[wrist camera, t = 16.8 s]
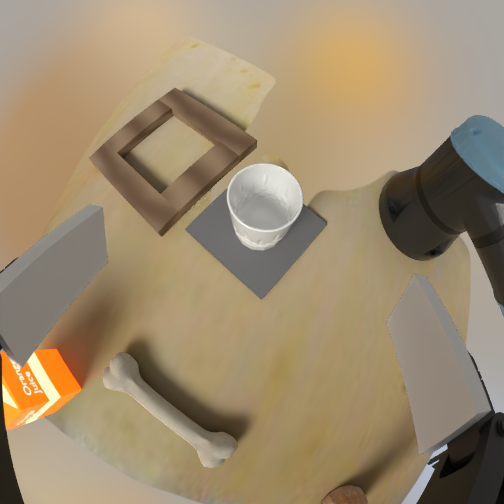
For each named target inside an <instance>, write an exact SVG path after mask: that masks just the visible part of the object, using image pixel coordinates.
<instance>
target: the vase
mask: <svg viewBox="0 0 504 504" xmlns="http://www.w3.org/2000/svg"><path fill="white" fill-rule="evenodd" d="M321 504H368V501H367V498H366V496H365V494H364V493H363V491H362V489H361V488H360V487H357V486H353V485H347V486H343V487H339V488H337V489H335V490H334V491H332V492H330V493H329V494H328V495H327V496H326V497H325V498H324V499H323V500H322V501H321Z"/></svg>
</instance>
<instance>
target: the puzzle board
mask: <svg viewBox="0 0 504 504" xmlns="http://www.w3.org/2000/svg"><path fill="white" fill-rule="evenodd" d="M173 115H174V116H175V117H177V118H178V119H180V120H181V121H182V122H184V123H185V124H187V125H188V126H190V127H191V128H192V129H194V130H195V131H197V132H198V133H199V134H201V135H202V136H204V137H205V138H206V139H208V140H209V141H211V142H212V143H213V144H215V146H214V147H213V148H211V149H210V150H209V151H208V152H207V153H206V154H204V155H203V156H202V157H201V158H200V159H199V160H197V161H196V162H195V163H194V164H193V165H192V166H190V167H189V168H188V169H187V170H186V171H185V172H184V173H183V174H182V175H180V176H179V177H178V178H177V179H176V180H175V181H174V182H173V183H172V184H171V185H170V186H169V187H167V188H166V189H165V190H164V191H163V192H162V193H161V194H160V193H159V192H158V191H156V190H155V189H154V188H153V187H152V186H151V185H150V184H149V183H148V182H147V181H146V180H145V179H144V178H143V177H142V176H141V175H140V174H139V173H137V172H136V171H135V170H134V169H133V168H132V167H131V166H130V165H129V164H128V163H127V162H126V161H125V160H124V159H123V157H124V156H125V155H126V154H127V153H129V152H130V151H131V150H132V149H133V148H134V147H135V146H136V145H138V144H139V143H140V142H141V141H142V140H143V139H145V138H146V137H147V136H148V135H149V134H151V133H152V132H153V131H154V130H156V129H157V128H158V127H159V126H161V125H162V124H163V123H164V122H166V121H167V120H168V119H169V118H171V117H172V116H173ZM255 148H257V140H256V139H254V138H253V137H252V136H250V135H249V134H247V133H246V132H245V131H243V130H242V129H240V128H239V127H237V126H236V125H234V124H233V123H231V122H230V121H228V120H227V119H225V118H224V117H222V116H221V115H219V114H217V113H216V112H214V111H213V110H211V109H210V108H208V107H206V106H205V105H203V104H202V103H200V102H198V101H197V100H195V99H193V98H192V97H190V96H188V95H187V94H185V93H183V92H182V91H180V90H178V89H176V88H174V89H173V90H171V91H170V92H168V93H167V94H165V95H164V96H163V97H161V98H160V99H158V100H157V101H156V102H154V103H153V104H152V105H150V106H149V107H148V108H146V109H145V110H144V111H142V112H141V113H140V114H138V115H137V116H136V117H135V118H133V119H132V120H131V121H130V122H129V123H127V124H126V125H125V126H124V127H123V128H121V129H120V130H119V131H118V132H117V133H116V134H114V135H113V136H112V137H111V138H110V139H109V140H108V141H106V142H105V143H104V144H103V145H102V146H101V147H100V148H99V149H98V150H97V151H96V152H95V153H94V154H93V155H92V156H91V157H89V159H90V160H91V161H92V163H93V164H94V165H95V166H96V167H97V168H98V170H99V171H100V172H101V173H102V174H103V175H104V176H105V177H106V178H107V180H108V181H109V182H110V183H111V184H112V185H113V186H114V187H115V188H116V189H117V190H118V191H119V193H120V194H121V195H122V196H123V197H124V198H125V199H126V200H127V201H128V202H129V203H130V204H131V205H132V206H133V207H134V209H135V210H136V211H137V212H138V213H139V214H140V215H141V216H142V217H143V218H144V219H145V220H146V221H147V222H148V223H149V224H150V225H151V226H152V227H153V228H154V229H155V230H156V231H157V232H158V233H159V234H160V235H161V236H163V235H164V234H165V233H166V232H167V231H168V230H169V229H170V228H171V227H172V226H173V225H174V224H175V223H176V222H177V221H178V220H179V219H180V218H181V217H182V216H183V215H184V214H185V213H186V212H187V211H188V210H189V209H190V208H191V207H192V206H193V205H194V204H195V203H196V202H197V201H198V200H199V199H200V198H201V197H202V196H203V195H204V194H205V193H207V192H208V191H209V190H210V189H211V188H212V187H213V186H214V185H215V184H216V183H217V182H218V181H219V180H221V178H223V177H224V176H225V175H226V174H227V173H228V172H229V171H230V170H232V169H233V168H234V167H235V166H236V165H237V164H238V163H239V162H241V161H242V160H243V159H244V158H245V157H246V156H247V155H249V154H250V153H251V152H252V151H253V150H254V149H255Z"/></svg>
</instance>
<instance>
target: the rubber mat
mask: <svg viewBox="0 0 504 504" xmlns="http://www.w3.org/2000/svg"><path fill="white" fill-rule="evenodd" d="M227 190H228V188H227V189H226V190H225V191H224V192H223V193H222V194H221V195H220V196H219V197H217V198H216V199H215V200H214V201H213V202H212V203H211V204H210V205H209V206H208V207H207V208H206V209H205V210H204V211H203V212H202V213H201V214H200V215H199V216H198V217H197V218H196V219H195V220H194V221H193V222H192V223H191V224H190V225H189V226H188V227H187V228H186V231H187V232H188V233H189V234H190V235H191V236H193V237H194V238H195V239H196V240H197V241H198V242H199V243H200V244H201V245H202V246H203V247H204V248H205V249H206V250H208V251H209V252H210V253H211V254H212V255H213V256H214V257H215V258H216V259H217V260H218V261H219V262H221V263H222V264H223V265H224V266H225V267H226V268H227V269H228V270H229V271H230V272H231V273H233V274H234V275H235V276H236V277H237V278H238V279H239V280H240V281H241V282H243V283H244V284H245V285H246V286H247V287H248V288H249V289H250V290H251V291H253V292H254V293H255V294H256V295H257V296H258V297H259V298H260V299H262V298H263V297H264V296H265V295H266V294H267V293H268V292H269V290H270V289H271V288H272V287H273V286H274V285H275V284H276V283H277V281H278V280H279V279H280V278H281V277H282V276H283V275H284V274H285V272H286V271H287V270H288V269H289V268H290V267H291V266H292V264H293V263H294V262H295V261H296V260H297V259H298V257H299V256H300V255H301V254H302V253H303V252H304V250H305V249H306V248H307V247H308V246H309V245H310V243H311V242H312V241H313V240H314V239H315V238H316V236H317V235H318V234H319V233H320V232H321V230H322V229H323V228H324V227H325V226H326V223H325V222H324V221H323V220H322V219H321V218H319V217H318V216H317V215H316V214H315V213H314V212H312V211H311V210H310V209H309V208H308V207H306V206H305V205H304V204H303V206H302V210H301V212H300V214H299V216H298V217H297V219H296V220H295V222H294V223H293V225H292V226H291V227H290V229H289V230H288V232H287V233H286V234H285V236H284V237H283V238H282V239H281V240H280V241H279V242H278V243H277V244H276V245H275V246H274V247H272V248H269V249H267V250H264V251H261V250H252V249H250V248H248V247H247V246H245V245H243V244H242V243H241V242H240V240H239V239H238V237H237V236H236V233H235V230H234V227H233V224H232V220H231V217H230V212H229V207H228V203H227Z"/></svg>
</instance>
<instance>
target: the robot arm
mask: <svg viewBox="0 0 504 504" xmlns="http://www.w3.org/2000/svg"><path fill="white" fill-rule="evenodd" d="M379 211H380V217H381V221H382V224H383V227H384V229H385V231H386V233H387V235H388V237H389V238H390V240H391V241H392V243H393V244H394V245H395V246H396V247H397V248H398V249H399V250H400V251H401V252H402V253H404V254H405V255H407V256H408V257H410V258H413V259H416V260H421V261H424V260H430V259H433V258H435V257H437V256H440V255H441V254H443V253H444V252H445V251H446V250H447V249H448V248H449V247H450V245H451V244H452V243H453V242H454V241H455V240H456V238H457V237H458V236H459V235H460V234H461V233H463V232H465V231H467V233H468V234H469V236H470V238H471V240H472V242H473V244H474V246H475V249H476V251H477V253H478V255H479V257H480V259H481V261H482V264H483V266H484V268H485V271H486V273H487V275H488V278H489V280H490V283H491V285H492V288H493V292H494V297H495V299H496V301H497V303H498V305H499V306H500V309H501V311H502V314H503V316H504V127H503V126H502V125H500V124H499V123H497V122H496V121H494V120H493V119H491V118H489V117H486V116H481V115H476V116H472V117H470V118H469V119H467V120H466V121H465V122H464V123H463V124H462V125H461V126H460V127H458V128H456V129H454V130H453V131H452V133H451V136H450V137H449V138H448V139H447V140H446V141H445V142H444V143H443V144H442V145H441V146H440V147H439V148H438V149H437V150H436V151H435V152H434V153H433V154H432V155H431V156H430V157H429V158H428V159H427V160H426V161H425V162H424V163H423V164H422V165H420V166H418V167H415V168H412V169H409V170H406V171H403V172H400V173H398V174H396V175H395V176H393V177H392V178H391V179H390V180H389V181H388V182H387V183H386V185H385V186H384V187H383V189H382V192H381V195H380V199H379ZM107 263H108V255H107V247H106V238H105V227H104V215H103V207H100V206H95V205H90V204H89V205H88V206H86V207H85V208H83V209H82V210H81V211H79V212H78V213H76V214H75V215H73V216H72V217H70V218H69V219H68V220H66V221H65V222H63V223H62V224H61V225H59V226H58V227H56V228H55V229H54V230H52V231H51V232H50V233H48V234H47V235H46V236H45V237H43V238H42V239H41V240H39V241H38V242H37V243H36V244H35V245H33V246H32V247H31V248H29V249H28V250H27V251H26V252H25V253H23V254H22V255H21V256H20V257H18V258H16V259H15V260H13V261H12V262H11V263H10V264H9V265H7V266H6V267H5V270H4V269H3V270H2V271H1V272H0V350H1V349H2V348H3V350H4V351H5V353H6V354H7V356H8V357H9V359H10V360H12V361H13V362H14V363H16V364H17V365H19V366H20V367H21V368H23V367H24V366H25V364H26V363H27V361H28V360H29V358H30V357H31V355H32V354H33V353H34V351H35V350H36V348H37V347H38V346H39V344H40V343H41V342H42V340H43V339H44V338H45V336H46V335H47V334H48V332H49V331H50V330H51V328H52V327H53V326H54V325H55V323H56V322H57V321H58V319H59V318H60V317H61V316H62V315H63V313H64V312H65V311H66V310H67V308H68V307H69V306H70V305H71V304H72V302H73V301H74V300H75V299H76V298H77V296H78V295H79V294H80V293H81V292H82V291H83V289H84V288H85V287H86V286H87V285H88V284H89V283H90V281H91V280H92V279H93V278H94V277H95V276H96V275H97V274H98V273H99V271H100V270H101V269H102V268H103V267H104V266H105V265H106V264H107ZM387 325H388V328H389V331H390V335H391V338H392V341H393V344H394V347H395V351H396V354H397V358H398V361H399V365H400V368H401V372H402V375H403V379H404V383H405V387H406V391H407V395H408V399H409V404H410V408H411V413H412V417H413V422H414V427H415V432H416V438H417V444H418V450H419V455H420V454H425V453H430V452H434V451H436V450H438V449H439V448H441V447H443V446H444V445H446V444H447V447H448V449H447V450H446V451H444V452H442V453H441V454H439V455H437V456H435V457H434V458H433V459H430V461H429V462H428V463H427V464H428V465H430V464H432V463H433V462H435V461H437V460H439V462H437V463H436V464H434V465H433V466H432V467H433V468H435V470H434V472H433V474H432V476H431V478H430V480H429V482H428V484H427V486H426V488H425V490H424V492H423V493H422V495H421V497H420V499H419V500H418V502H417V504H504V413H501V412H499V413H496V414H495V411H494V409H493V406H492V403H491V401H490V398H489V395H488V392H487V390H486V387H485V385H484V382H483V380H481V378H482V377H481V375H480V372H479V371H478V368H477V365H476V363H475V361H474V359H473V357H472V356H471V355H470V353H469V352H468V351H467V349H466V347H465V345H464V342H463V340H462V338H461V336H460V334H459V332H458V330H457V329H456V327H455V325H454V323H453V321H452V319H451V317H450V315H449V313H448V312H447V310H446V308H445V306H444V305H443V303H442V301H441V299H440V298H439V296H438V294H437V293H436V291H435V289H434V288H433V286H432V284H431V283H430V281H429V279H428V278H427V277H424V276H420V275H416V274H414V275H413V277H412V278H411V280H410V282H409V284H408V286H407V288H406V290H405V291H404V293H403V295H402V297H401V298H400V300H399V302H398V304H397V305H396V307H395V309H394V310H393V312H392V314H391V315H390V317H389V318H388V320H387ZM0 504H24V502H23V499H22V496H21V493H20V489H19V486H18V483H17V479H16V476H15V472H14V468H13V463H12V459H11V455H10V449H9V444H8V439H7V432H6V424H5V415H4V405H3V388H2V356H1V354H0Z"/></svg>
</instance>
